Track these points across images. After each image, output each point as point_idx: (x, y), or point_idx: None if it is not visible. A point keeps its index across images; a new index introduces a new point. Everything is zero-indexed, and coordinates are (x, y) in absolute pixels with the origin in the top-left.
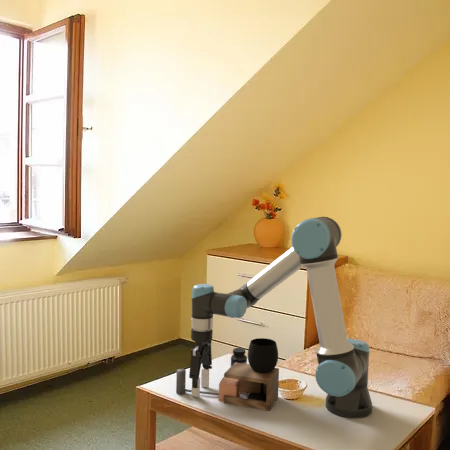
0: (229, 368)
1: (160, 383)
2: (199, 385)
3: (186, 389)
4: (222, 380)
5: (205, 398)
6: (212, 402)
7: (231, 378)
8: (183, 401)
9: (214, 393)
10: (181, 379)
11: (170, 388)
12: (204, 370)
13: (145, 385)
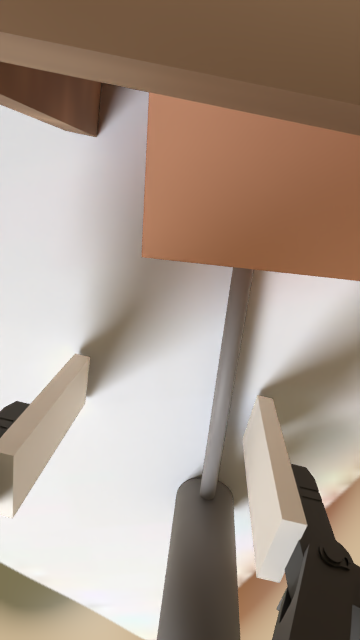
0: (290, 77)
1: (101, 588)
2: (280, 459)
3: (209, 492)
4: (263, 251)
5: (280, 351)
6: (355, 292)
7: (158, 114)
8: (340, 474)
9: (246, 299)
10: (237, 607)
11: (154, 547)
12: (19, 484)
13: (144, 635)
